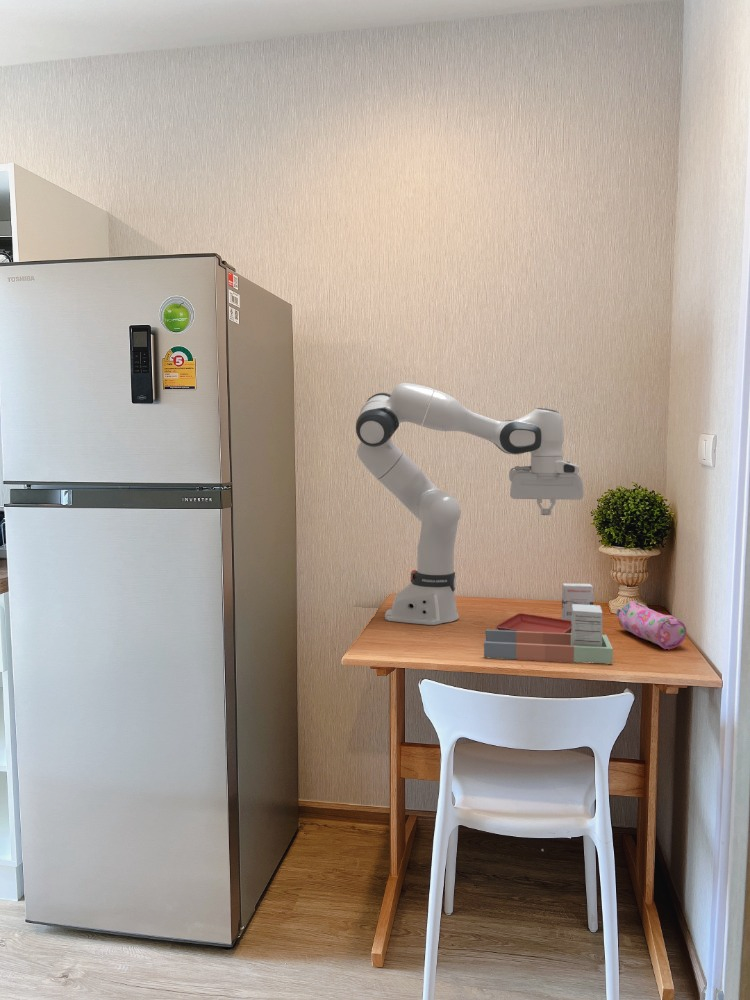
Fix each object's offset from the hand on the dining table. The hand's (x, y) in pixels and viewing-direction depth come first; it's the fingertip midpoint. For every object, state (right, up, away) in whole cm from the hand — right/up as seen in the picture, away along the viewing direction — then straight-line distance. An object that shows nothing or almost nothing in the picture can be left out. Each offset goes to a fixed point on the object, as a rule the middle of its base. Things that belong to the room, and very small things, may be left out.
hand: (545, 515), depth 212 cm
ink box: (+11, -33, +9) cm, 36 cm away
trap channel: (-5, -35, -19) cm, 41 cm away
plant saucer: (-3, -34, -1) cm, 34 cm away
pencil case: (+27, -34, -7) cm, 44 cm away
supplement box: (+5, -36, -22) cm, 42 cm away
